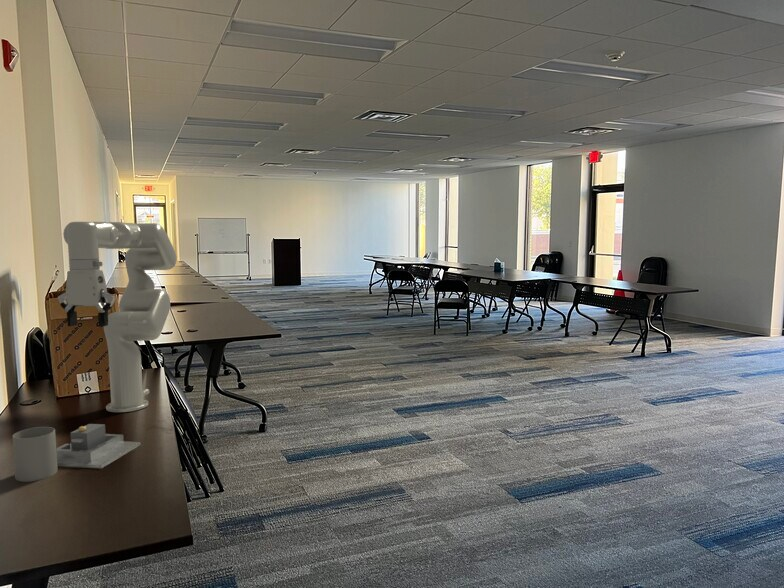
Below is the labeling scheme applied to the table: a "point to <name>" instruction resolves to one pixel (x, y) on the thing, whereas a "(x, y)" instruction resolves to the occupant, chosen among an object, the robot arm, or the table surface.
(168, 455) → the table surface
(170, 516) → the table surface
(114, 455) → the board
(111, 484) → the table surface
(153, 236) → the robot arm
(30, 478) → the cup
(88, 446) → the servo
